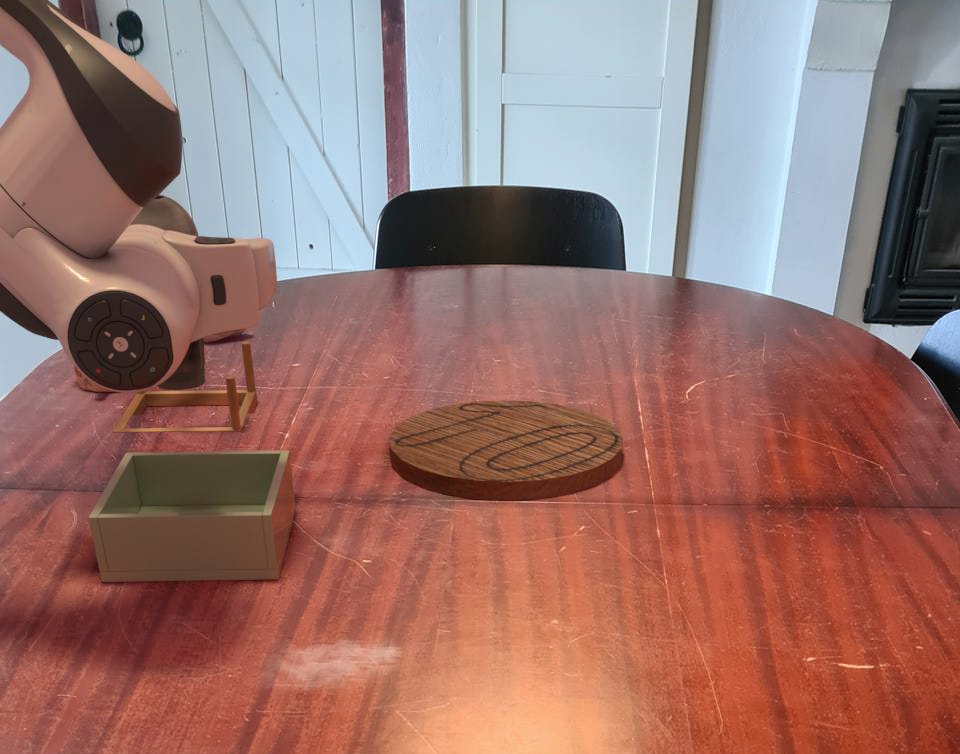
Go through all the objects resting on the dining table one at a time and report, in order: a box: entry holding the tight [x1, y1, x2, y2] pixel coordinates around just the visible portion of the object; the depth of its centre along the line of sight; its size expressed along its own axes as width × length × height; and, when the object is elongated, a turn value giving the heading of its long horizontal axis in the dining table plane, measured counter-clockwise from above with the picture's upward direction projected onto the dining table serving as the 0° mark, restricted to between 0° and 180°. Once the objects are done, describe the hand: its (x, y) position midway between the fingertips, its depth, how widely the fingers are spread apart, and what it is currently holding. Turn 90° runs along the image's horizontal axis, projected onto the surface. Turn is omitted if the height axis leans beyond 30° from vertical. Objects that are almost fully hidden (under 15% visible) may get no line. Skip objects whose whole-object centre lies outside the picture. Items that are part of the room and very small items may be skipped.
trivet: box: [388, 399, 624, 501], centre depth 132 cm, size 25×25×2 cm
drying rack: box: [112, 341, 258, 434], centre depth 140 cm, size 14×14×7 cm
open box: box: [88, 449, 297, 583], centre depth 113 cm, size 16×16×6 cm
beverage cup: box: [130, 194, 206, 391], centre depth 109 cm, size 7×7×20 cm
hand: (162, 251), depth 109 cm, fingers closed on beverage cup, 7 cm apart
